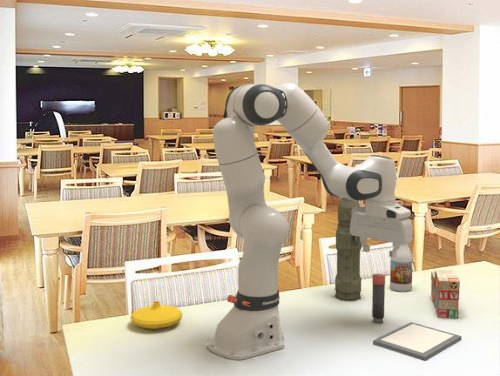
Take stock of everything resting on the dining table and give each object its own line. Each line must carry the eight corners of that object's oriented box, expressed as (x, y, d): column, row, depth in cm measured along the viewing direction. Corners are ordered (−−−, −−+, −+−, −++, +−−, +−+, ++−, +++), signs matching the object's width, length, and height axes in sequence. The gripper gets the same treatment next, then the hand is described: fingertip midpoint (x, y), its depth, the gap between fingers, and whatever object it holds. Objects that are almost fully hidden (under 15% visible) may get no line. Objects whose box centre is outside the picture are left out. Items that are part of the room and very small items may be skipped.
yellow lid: (120, 329, 179) (119, 306, 179) (150, 313, 194) (150, 291, 193) (163, 337, 173) (163, 314, 172) (192, 320, 187) (191, 298, 186)
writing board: (425, 360, 155) (425, 356, 155) (372, 343, 166) (372, 339, 166) (461, 339, 169) (461, 335, 168) (410, 325, 180) (411, 321, 180)
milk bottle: (385, 287, 219) (386, 233, 216) (404, 284, 221) (405, 231, 218) (396, 293, 211) (398, 237, 209) (415, 290, 214) (417, 236, 211)
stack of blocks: (430, 297, 207) (431, 262, 206) (449, 298, 206) (450, 263, 204) (437, 318, 186) (438, 279, 185) (458, 319, 185) (460, 280, 183)
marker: (379, 324, 181) (380, 278, 179) (369, 321, 184) (370, 275, 182) (386, 321, 183) (387, 275, 182) (376, 318, 186) (377, 273, 184)
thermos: (347, 290, 215) (349, 194, 210) (368, 299, 204) (370, 198, 200) (327, 294, 211) (328, 196, 206) (347, 303, 200) (348, 200, 196)
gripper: (345, 206, 184) (345, 250, 186) (404, 214, 170) (402, 262, 171) (357, 204, 189) (357, 247, 190) (415, 211, 174) (414, 258, 176)
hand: (379, 254), depth 181 cm, fingers open, 8 cm apart
